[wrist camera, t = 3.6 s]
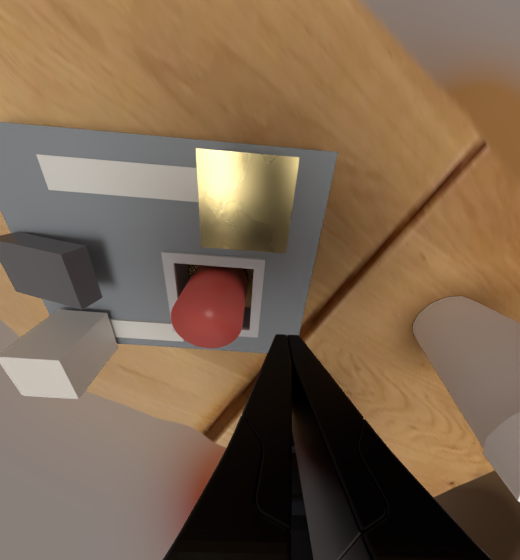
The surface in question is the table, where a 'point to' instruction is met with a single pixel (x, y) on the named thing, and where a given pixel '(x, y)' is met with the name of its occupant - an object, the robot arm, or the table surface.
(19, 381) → the ivory slider
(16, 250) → the block
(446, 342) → the foam cup
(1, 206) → the panel
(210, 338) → the red button
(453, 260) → the table surface
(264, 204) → the brass slider
